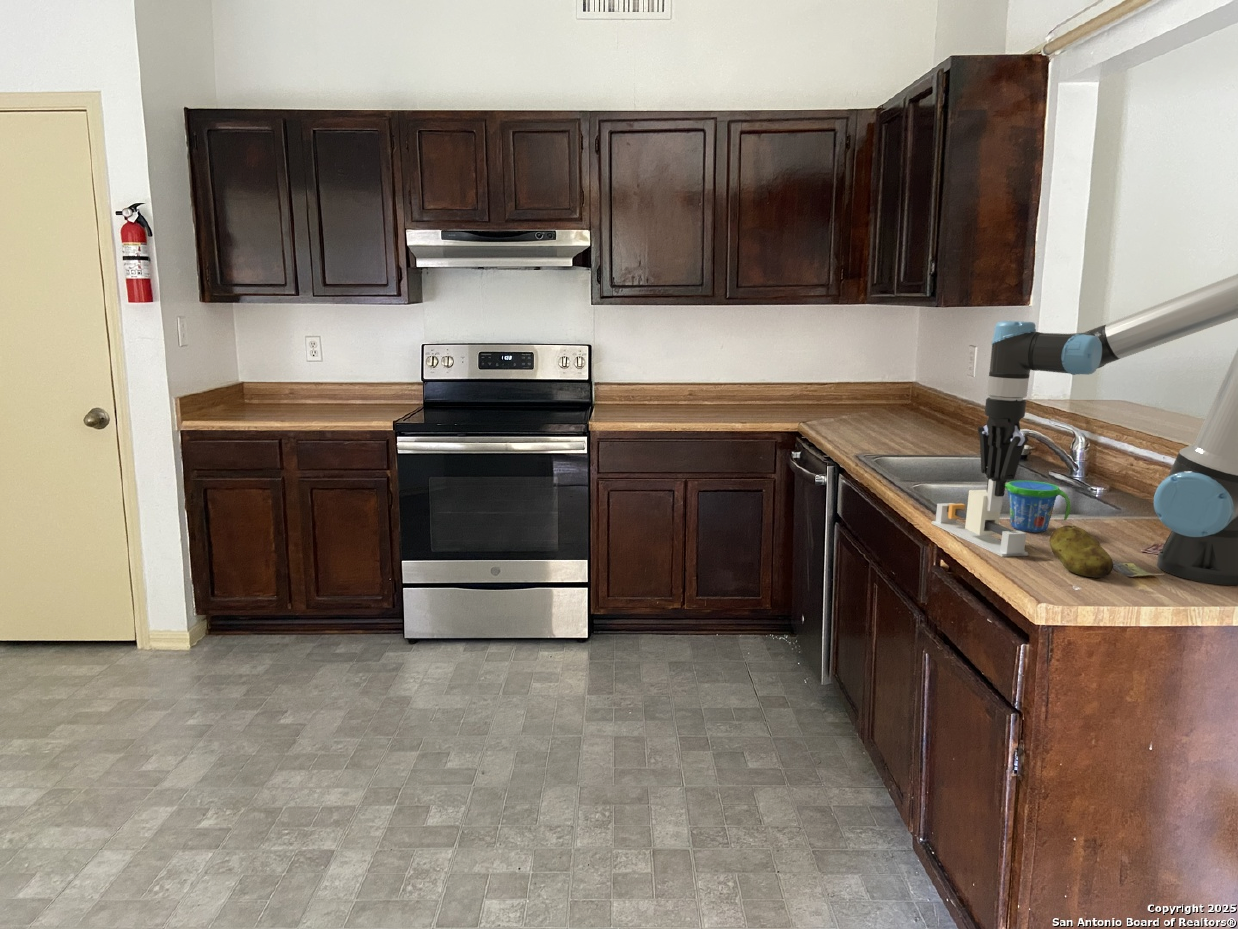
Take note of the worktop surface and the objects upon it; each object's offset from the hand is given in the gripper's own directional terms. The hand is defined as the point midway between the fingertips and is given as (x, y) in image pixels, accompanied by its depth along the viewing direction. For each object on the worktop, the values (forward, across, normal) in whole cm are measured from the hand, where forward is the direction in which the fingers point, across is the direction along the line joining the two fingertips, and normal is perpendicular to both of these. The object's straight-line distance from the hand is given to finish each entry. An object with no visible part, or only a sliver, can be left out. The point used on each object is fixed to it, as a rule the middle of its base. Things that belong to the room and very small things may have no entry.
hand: (993, 510), depth 179 cm
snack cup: (+8, +10, -17) cm, 21 cm away
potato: (+8, -18, -6) cm, 21 cm away
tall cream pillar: (+6, +3, 0) cm, 6 cm away
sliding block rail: (+8, +4, 0) cm, 9 cm away
